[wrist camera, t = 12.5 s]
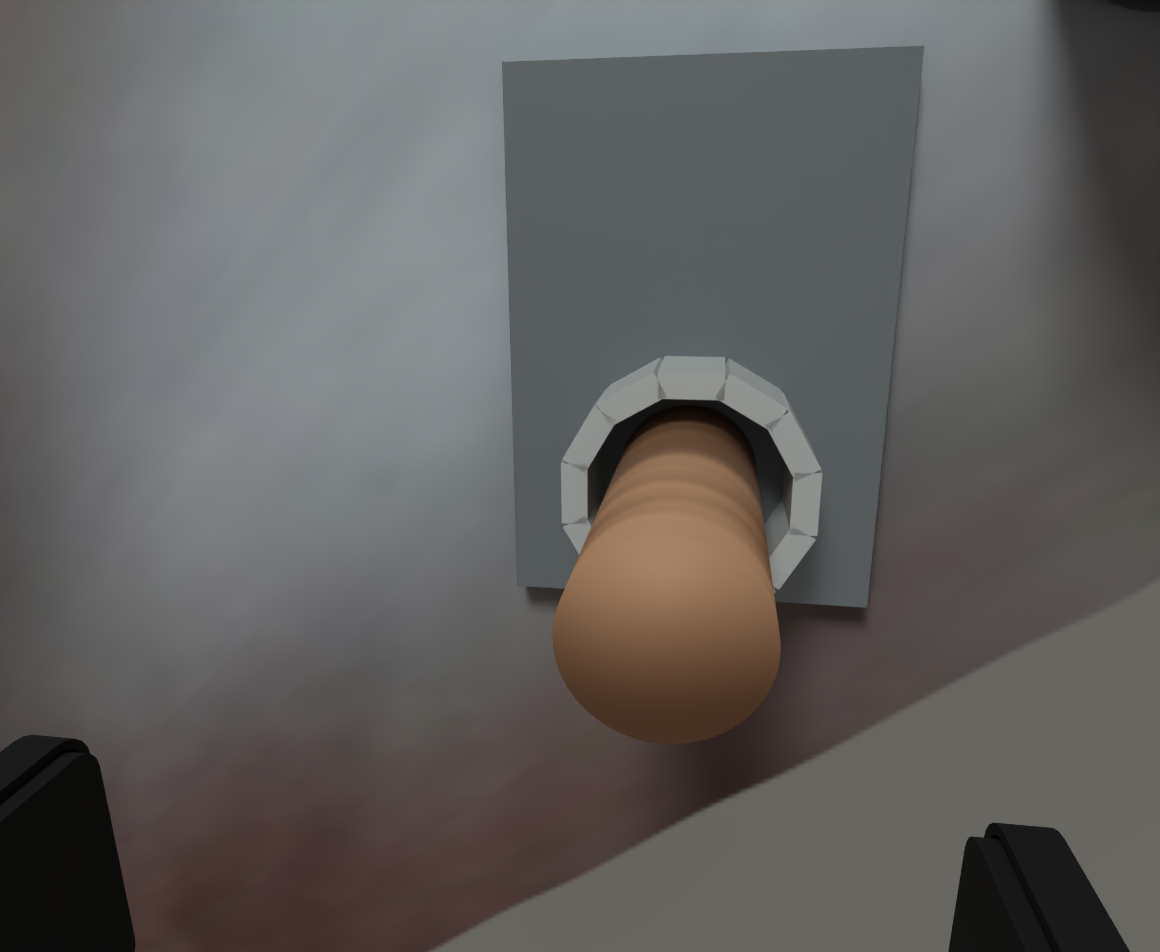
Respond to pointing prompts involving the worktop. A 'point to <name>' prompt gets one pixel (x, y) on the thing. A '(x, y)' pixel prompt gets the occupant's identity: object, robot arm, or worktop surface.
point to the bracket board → (709, 285)
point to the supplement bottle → (1139, 4)
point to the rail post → (673, 587)
